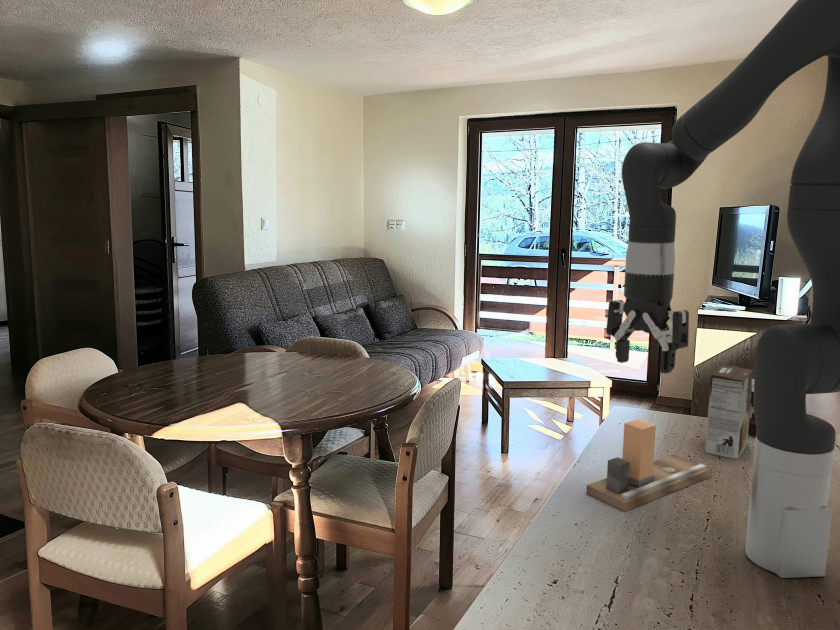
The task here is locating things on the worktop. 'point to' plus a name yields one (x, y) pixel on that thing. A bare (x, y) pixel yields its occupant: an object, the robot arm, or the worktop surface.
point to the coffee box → (729, 411)
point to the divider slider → (639, 451)
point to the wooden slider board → (667, 479)
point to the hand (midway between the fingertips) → (643, 367)
